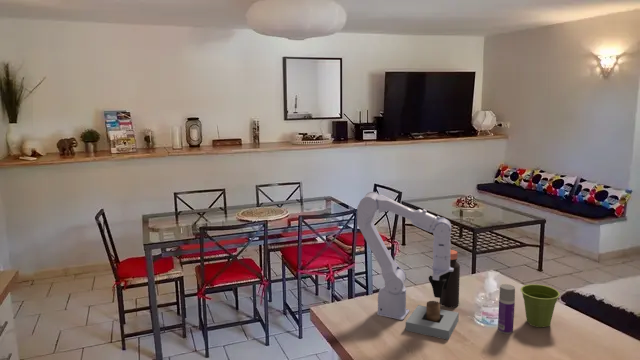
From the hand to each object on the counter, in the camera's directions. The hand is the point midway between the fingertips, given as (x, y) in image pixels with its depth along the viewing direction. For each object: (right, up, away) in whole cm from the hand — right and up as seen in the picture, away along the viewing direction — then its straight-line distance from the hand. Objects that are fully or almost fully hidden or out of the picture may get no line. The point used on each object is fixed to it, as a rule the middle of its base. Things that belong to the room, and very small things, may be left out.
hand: (440, 292), depth 163 cm
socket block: (-4, -10, -3) cm, 11 cm away
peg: (-3, -9, -3) cm, 11 cm away
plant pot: (+32, -10, -3) cm, 33 cm away
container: (+19, -11, -7) cm, 23 cm away
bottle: (+6, -7, +13) cm, 16 cm away
